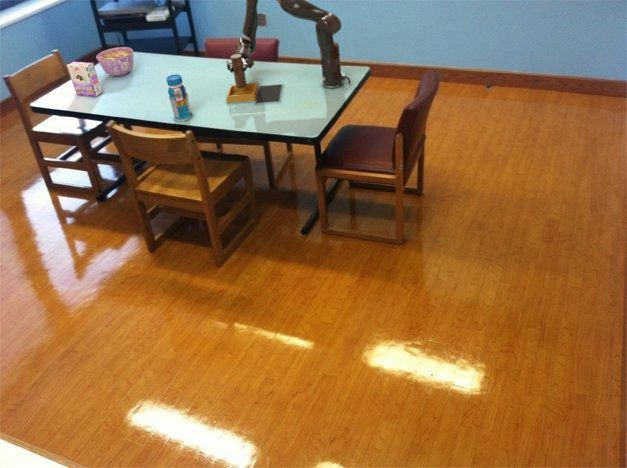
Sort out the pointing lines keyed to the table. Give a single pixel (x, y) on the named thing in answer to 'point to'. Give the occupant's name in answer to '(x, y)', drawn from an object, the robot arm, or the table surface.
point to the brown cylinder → (238, 70)
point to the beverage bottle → (178, 98)
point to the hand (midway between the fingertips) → (237, 70)
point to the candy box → (84, 78)
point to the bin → (242, 93)
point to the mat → (269, 93)
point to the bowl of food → (116, 60)
